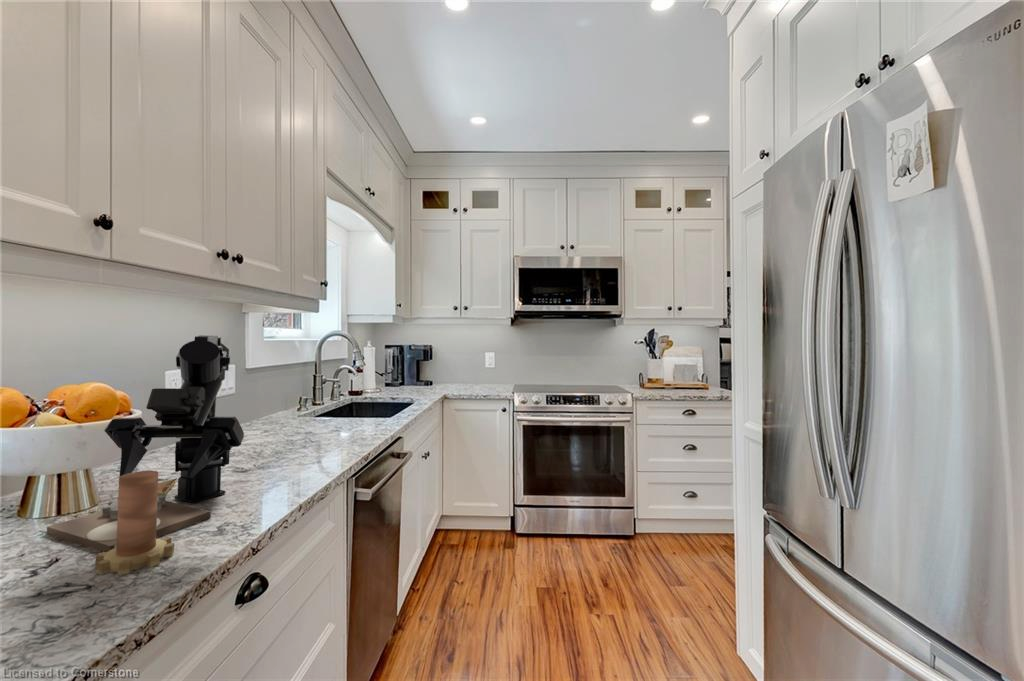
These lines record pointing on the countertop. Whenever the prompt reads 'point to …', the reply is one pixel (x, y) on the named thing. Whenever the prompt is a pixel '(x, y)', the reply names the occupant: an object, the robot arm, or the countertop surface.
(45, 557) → the countertop surface
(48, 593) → the countertop surface
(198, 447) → the robot arm
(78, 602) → the countertop surface
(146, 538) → the gear spindle
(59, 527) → the gear board
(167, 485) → the shard
